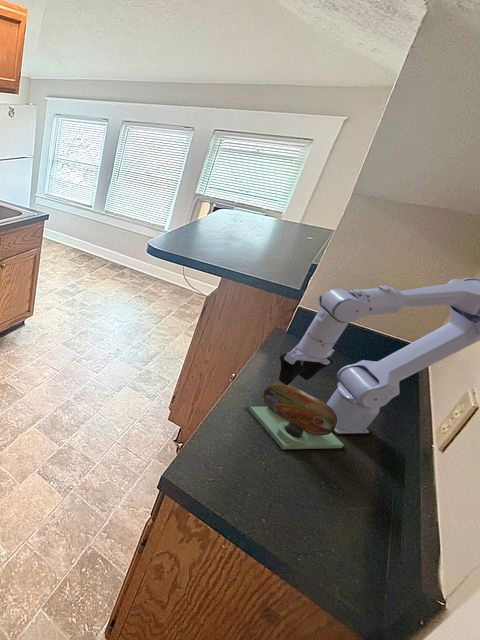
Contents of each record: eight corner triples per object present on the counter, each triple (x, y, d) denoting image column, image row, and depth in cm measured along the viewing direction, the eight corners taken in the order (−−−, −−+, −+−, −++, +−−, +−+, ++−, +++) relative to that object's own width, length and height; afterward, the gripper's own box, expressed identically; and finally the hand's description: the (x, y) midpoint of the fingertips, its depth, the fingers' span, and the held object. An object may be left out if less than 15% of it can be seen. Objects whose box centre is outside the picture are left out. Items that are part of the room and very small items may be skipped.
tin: (257, 402, 101) (271, 378, 97) (262, 398, 103) (275, 374, 99) (324, 443, 91) (342, 418, 87) (328, 437, 92) (346, 412, 88)
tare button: (293, 427, 92) (296, 422, 91) (303, 437, 90) (306, 432, 89) (282, 427, 92) (285, 422, 91) (291, 438, 89) (295, 433, 88)
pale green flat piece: (302, 409, 102) (307, 401, 100) (343, 449, 91) (349, 441, 90) (248, 409, 100) (253, 401, 98) (283, 451, 89) (289, 442, 88)
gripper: (317, 351, 84) (289, 396, 90) (358, 343, 89) (328, 386, 95) (287, 332, 90) (262, 375, 96) (327, 326, 95) (300, 367, 101)
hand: (293, 379), depth 96 cm, fingers open, 7 cm apart
